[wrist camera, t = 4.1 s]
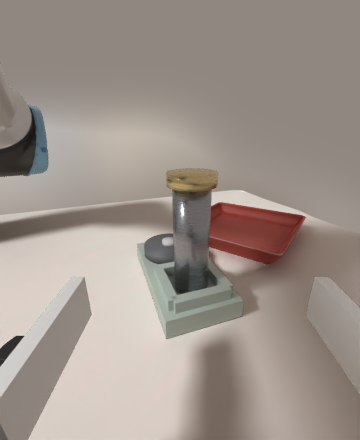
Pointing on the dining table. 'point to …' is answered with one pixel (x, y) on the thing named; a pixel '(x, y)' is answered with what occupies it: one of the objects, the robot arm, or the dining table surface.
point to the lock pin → (191, 226)
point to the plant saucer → (252, 231)
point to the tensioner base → (188, 302)
